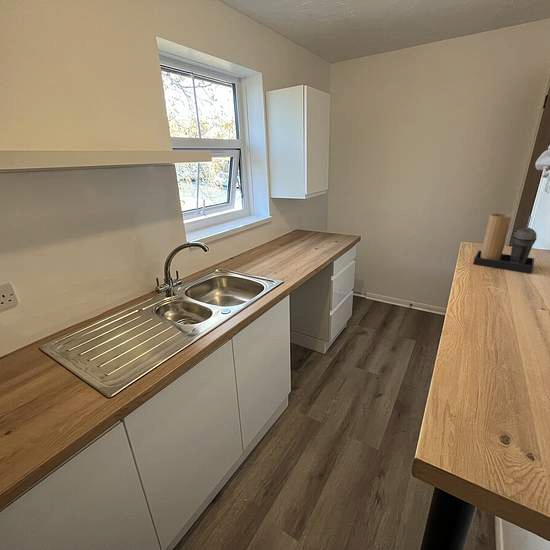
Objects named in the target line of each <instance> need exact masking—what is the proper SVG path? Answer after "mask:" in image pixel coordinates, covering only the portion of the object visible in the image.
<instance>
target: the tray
mask: <svg viewBox="0 0 550 550" xmlns="http://www.w3.org/2000/svg"><path fill="white" fill-rule="evenodd" d="M481 251H482V250H478V251H477V252H476V255H475V256H474V259H473V265H475V264H476V265H475V266H481V265H482V266H481V267H487V268H493V269H500V270H505V271H511V272H512V271H513V272H518V273H525V274H530V275H531V274H532V273H533V269H534V267H535V266H534V265H535V258H534V257H528V258H527V260H526V262H525V264H524V265H523V264H516V263H510V257H511V254H507V253H502V256H501V260H500V261H497V260H490V259H483V258H480V255H481Z"/></svg>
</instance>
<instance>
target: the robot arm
mask: <svg viewBox="0 0 550 550" xmlns="http://www.w3.org/2000/svg"><path fill="white" fill-rule="evenodd" d="M534 164H535V169H536V170H537V171H543V173H542V176H541V177H542V178H545V179H547V178H548V177H549V175H550V173H549V171H550V144H549V145H548V147H547V150H544V151H543V152H542V153H541V154H540V156H539V157H538V158H537V160H536V162H535V163H534Z"/></svg>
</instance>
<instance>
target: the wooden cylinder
mask: <svg viewBox="0 0 550 550" xmlns="http://www.w3.org/2000/svg"><path fill="white" fill-rule="evenodd" d="M512 218H513V215H511V214H506V213H490V214H489V218H488V222H487V226H486V231H485V234H484V239H483V243H482V248H481V250H480V251H481V255H480V258H483V259H490V260H497V261H500V260H501V256H502V254H503V252H504V249H505V246H506V245H505V244H506V241H507V237H508V234H509V230H510V226H511V222H512Z"/></svg>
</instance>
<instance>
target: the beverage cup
mask: <svg viewBox="0 0 550 550" xmlns="http://www.w3.org/2000/svg"><path fill="white" fill-rule="evenodd" d="M531 219H532V215H529V217H528V220H527V224H526V227H521V228H518V230H516V231H515V233H513V236H512V246H511V251H510V252H511V253H510V255H511V257H510V263H516V264H523V265H524V264H525V262H526V260H527V258H529V256H530V253H531V250H532V248H533V246H534V244H535V242H536V241H537V232H536V231H535V230H534V229H533V228H531V227H529V226H530V222H531Z"/></svg>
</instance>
